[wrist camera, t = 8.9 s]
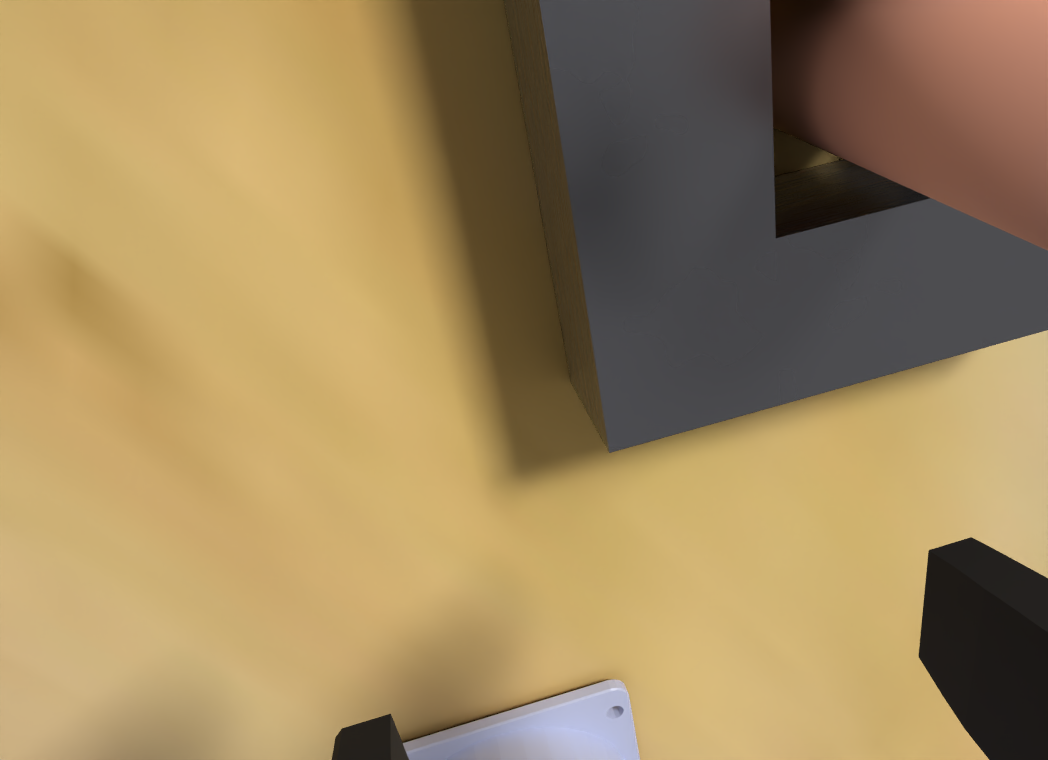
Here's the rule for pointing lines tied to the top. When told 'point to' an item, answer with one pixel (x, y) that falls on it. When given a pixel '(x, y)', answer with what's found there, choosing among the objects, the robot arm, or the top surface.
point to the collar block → (730, 228)
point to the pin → (924, 97)
